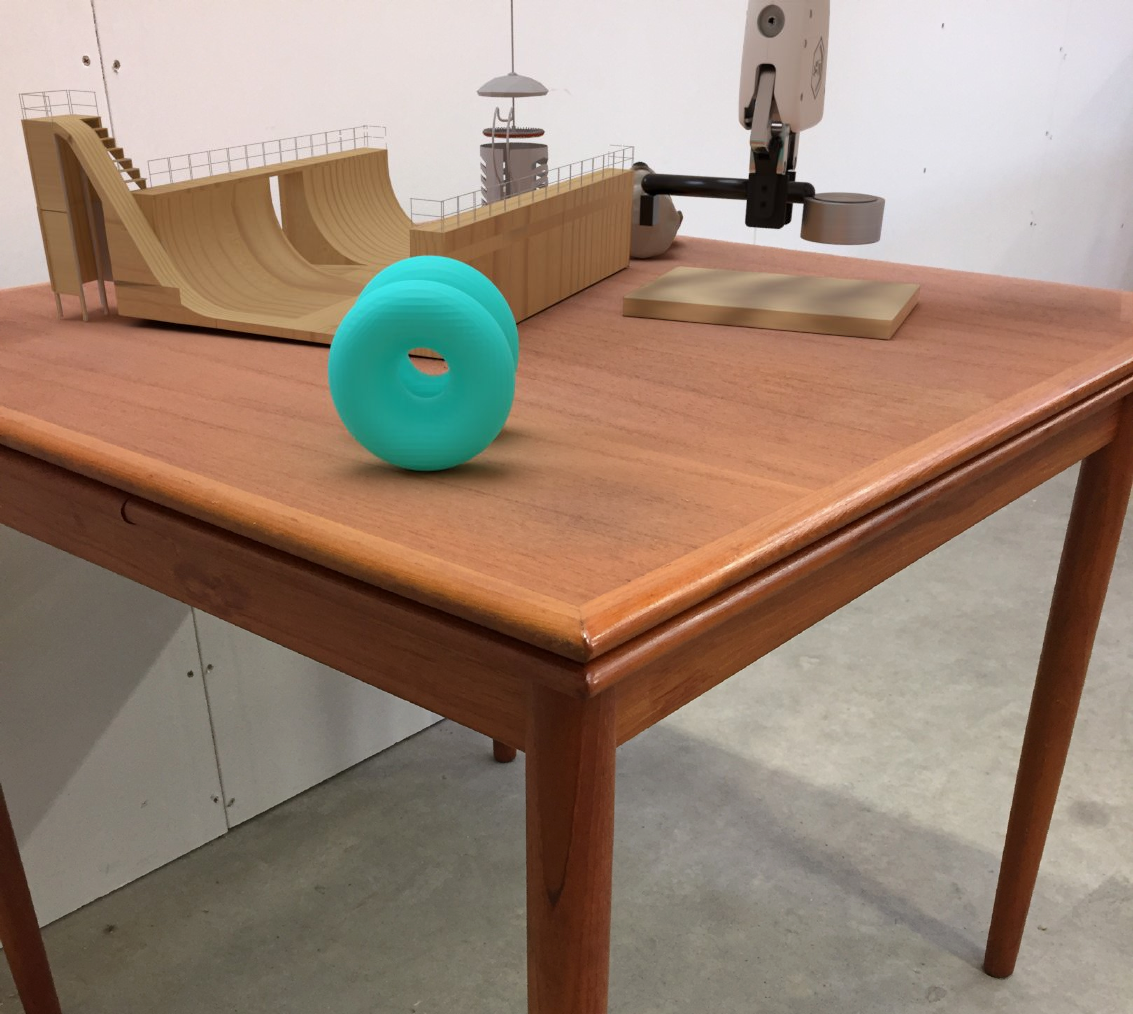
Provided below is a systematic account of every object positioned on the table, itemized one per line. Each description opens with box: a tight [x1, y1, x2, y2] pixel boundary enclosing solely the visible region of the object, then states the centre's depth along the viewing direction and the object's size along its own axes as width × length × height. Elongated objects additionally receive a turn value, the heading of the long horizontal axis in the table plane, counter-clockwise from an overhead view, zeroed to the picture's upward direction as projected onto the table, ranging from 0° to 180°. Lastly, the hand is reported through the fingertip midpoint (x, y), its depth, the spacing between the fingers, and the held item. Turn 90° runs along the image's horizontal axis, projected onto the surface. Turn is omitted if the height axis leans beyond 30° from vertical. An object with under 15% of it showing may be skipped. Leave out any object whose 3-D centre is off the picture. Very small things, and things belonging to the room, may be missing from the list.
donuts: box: [327, 256, 520, 472], centre depth 69 cm, size 10×10×10 cm
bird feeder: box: [476, 0, 550, 207], centre depth 137 cm, size 10×12×25 cm
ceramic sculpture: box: [628, 161, 684, 259], centre depth 126 cm, size 11×9×15 cm
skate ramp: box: [18, 89, 635, 360], centre depth 106 cm, size 40×35×16 cm
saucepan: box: [639, 172, 886, 246], centre depth 101 cm, size 20×6×4 cm, turn 68°
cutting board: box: [622, 265, 922, 341], centre depth 104 cm, size 22×15×2 cm
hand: (768, 223), depth 101 cm, fingers closed on saucepan
